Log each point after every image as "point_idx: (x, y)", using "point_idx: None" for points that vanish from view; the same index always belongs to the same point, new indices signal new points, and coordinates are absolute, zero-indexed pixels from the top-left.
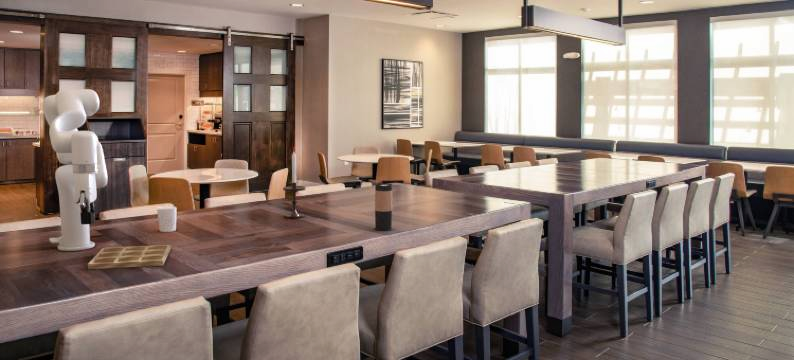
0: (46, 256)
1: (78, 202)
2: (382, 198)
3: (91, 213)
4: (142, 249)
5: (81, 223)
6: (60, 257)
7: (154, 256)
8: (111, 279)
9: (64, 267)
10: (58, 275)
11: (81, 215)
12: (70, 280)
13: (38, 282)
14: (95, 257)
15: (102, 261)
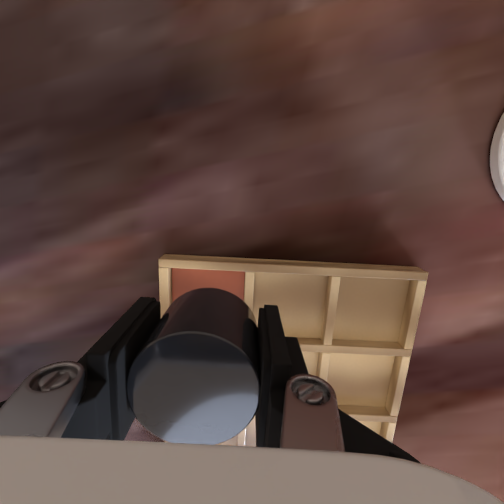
0: (435, 41)
1: (94, 439)
2: None
3: (153, 432)
4: (387, 396)
5: (141, 300)
6: (392, 112)
7: (237, 444)
8: (29, 340)
9: (212, 165)
10: (96, 167)
11: (105, 342)
12: (26, 222)
13: (6, 115)
14: (259, 270)
15: (234, 293)
